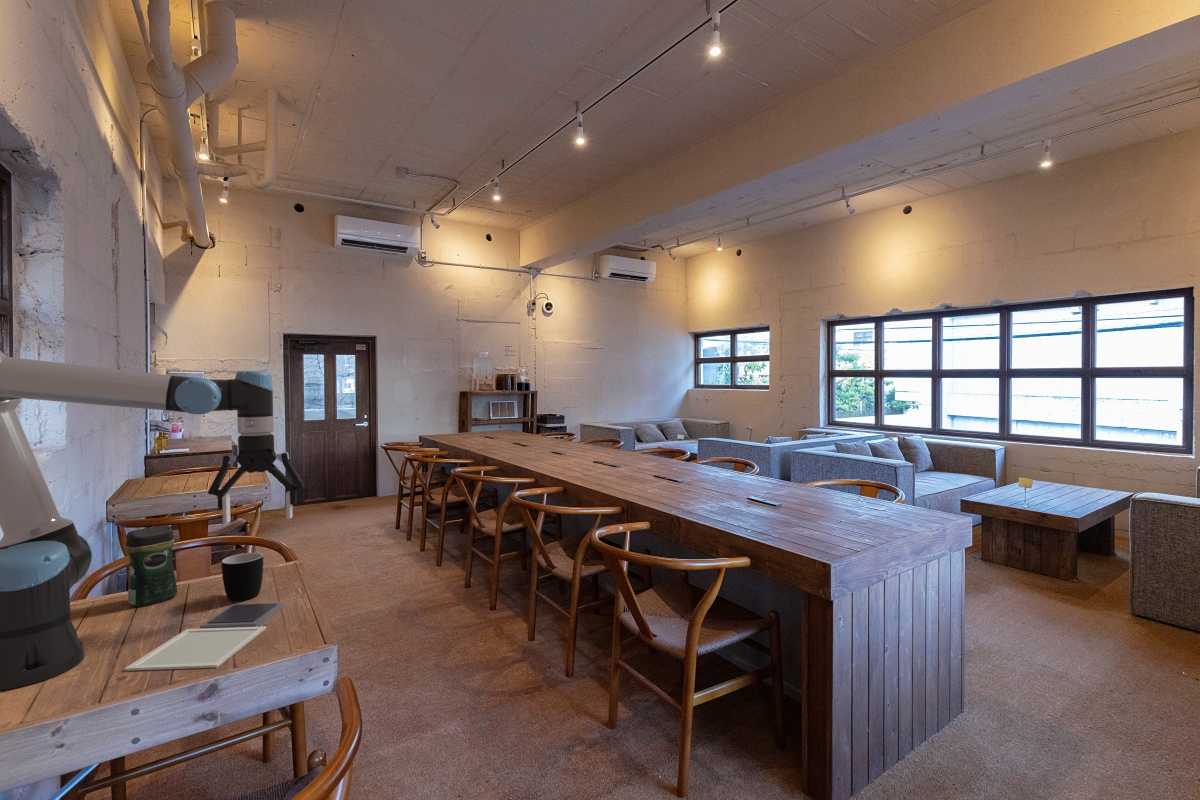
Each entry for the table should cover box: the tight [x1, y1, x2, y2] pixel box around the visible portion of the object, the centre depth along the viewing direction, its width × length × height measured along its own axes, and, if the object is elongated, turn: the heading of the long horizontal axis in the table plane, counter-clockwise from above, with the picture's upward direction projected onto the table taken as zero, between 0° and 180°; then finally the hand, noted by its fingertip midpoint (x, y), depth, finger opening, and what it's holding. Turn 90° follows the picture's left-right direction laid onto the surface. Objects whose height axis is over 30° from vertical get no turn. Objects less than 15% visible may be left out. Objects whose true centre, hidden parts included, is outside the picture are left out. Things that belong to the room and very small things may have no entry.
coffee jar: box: [124, 524, 178, 607], centre depth 141 cm, size 10×8×19 cm
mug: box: [221, 552, 264, 603], centre depth 143 cm, size 12×9×10 cm
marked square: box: [124, 625, 267, 672], centre depth 114 cm, size 17×17×1 cm
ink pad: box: [199, 602, 285, 629], centre depth 129 cm, size 12×12×1 cm
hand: (258, 520), depth 137 cm, fingers open, 13 cm apart
